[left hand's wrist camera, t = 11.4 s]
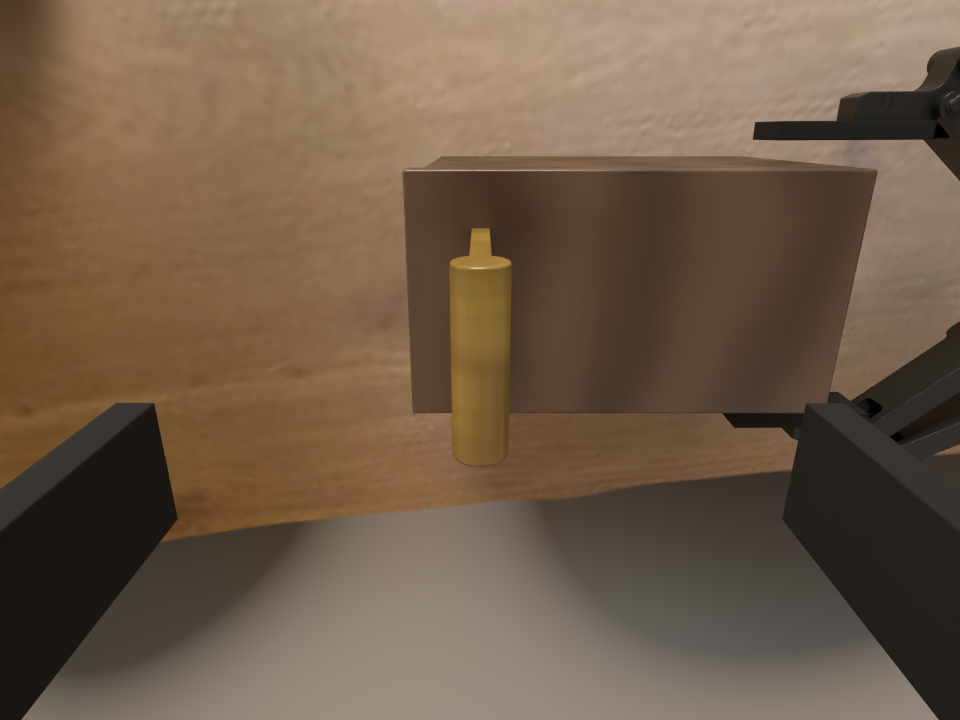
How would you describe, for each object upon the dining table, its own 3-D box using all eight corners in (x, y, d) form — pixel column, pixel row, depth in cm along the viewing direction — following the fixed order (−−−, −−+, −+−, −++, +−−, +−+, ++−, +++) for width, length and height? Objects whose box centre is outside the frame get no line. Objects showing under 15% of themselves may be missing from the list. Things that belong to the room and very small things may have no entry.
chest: (444, 327, 38) (430, 400, 27) (440, 156, 34) (423, 167, 24) (719, 327, 38) (809, 400, 27) (744, 156, 34) (857, 167, 24)
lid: (415, 401, 27) (385, 524, 19) (406, 167, 24) (363, 187, 15) (810, 401, 27) (961, 525, 19) (858, 167, 24) (1072, 188, 15)
